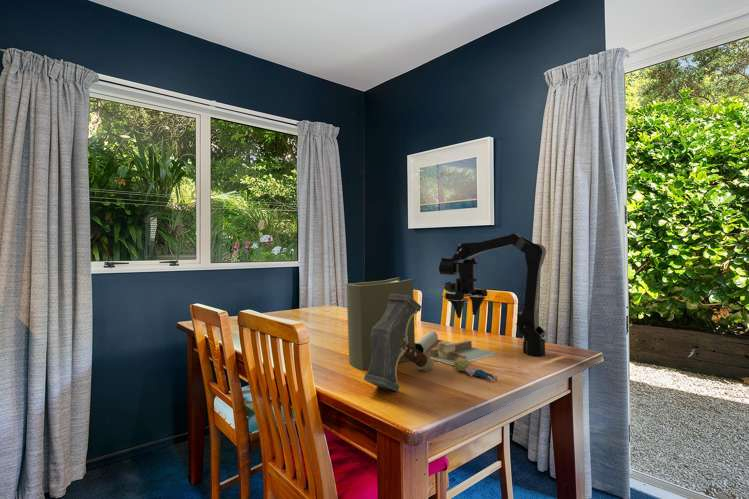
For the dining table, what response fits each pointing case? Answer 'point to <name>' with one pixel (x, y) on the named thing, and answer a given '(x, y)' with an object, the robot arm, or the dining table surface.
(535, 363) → the dining table surface
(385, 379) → the hammer
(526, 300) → the robot arm
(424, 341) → the tube
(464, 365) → the figurine
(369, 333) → the book
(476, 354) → the board
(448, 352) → the wooden block with peg
